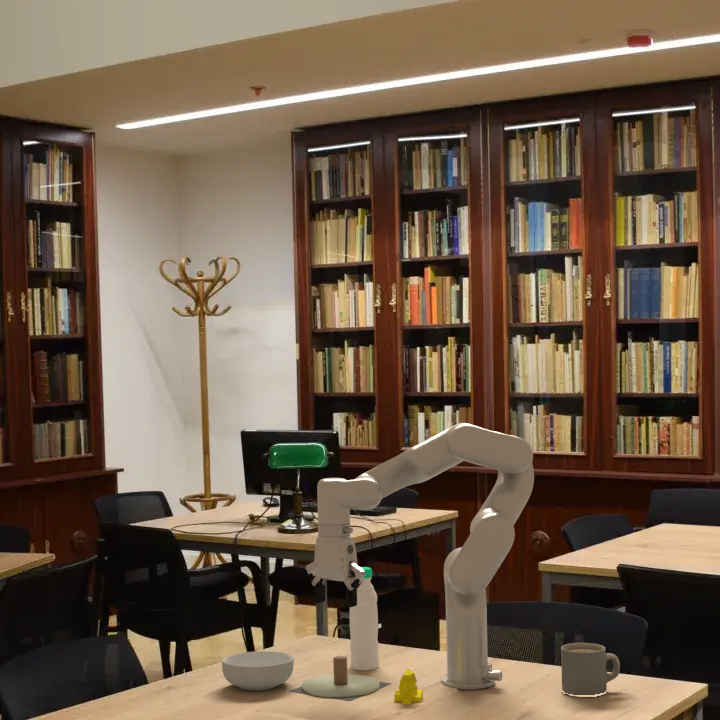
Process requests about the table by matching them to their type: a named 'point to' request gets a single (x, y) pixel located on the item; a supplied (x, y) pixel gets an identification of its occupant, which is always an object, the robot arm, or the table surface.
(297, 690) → the mat
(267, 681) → the cereal bowl
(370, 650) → the water bottle
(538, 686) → the table surface
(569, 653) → the coffee mug
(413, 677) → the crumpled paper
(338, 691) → the lid
